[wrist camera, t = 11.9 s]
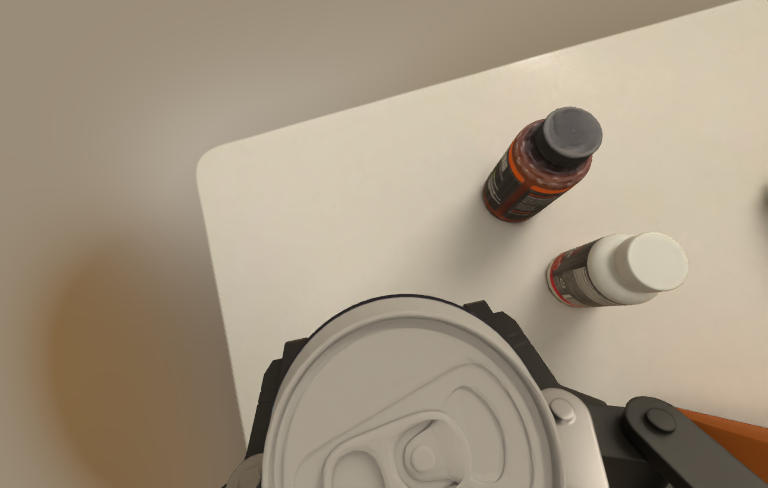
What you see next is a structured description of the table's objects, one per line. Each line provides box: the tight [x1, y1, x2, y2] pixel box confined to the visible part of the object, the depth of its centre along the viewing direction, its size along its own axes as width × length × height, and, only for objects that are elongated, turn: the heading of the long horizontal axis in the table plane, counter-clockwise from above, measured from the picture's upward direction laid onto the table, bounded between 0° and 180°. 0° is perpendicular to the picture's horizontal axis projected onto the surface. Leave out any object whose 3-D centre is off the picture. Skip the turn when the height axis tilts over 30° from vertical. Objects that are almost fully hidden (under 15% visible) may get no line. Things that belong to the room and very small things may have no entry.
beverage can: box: [261, 294, 567, 488], centre depth 11 cm, size 6×6×12 cm
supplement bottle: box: [483, 107, 603, 222], centre depth 27 cm, size 6×6×11 cm
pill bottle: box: [547, 232, 689, 307], centre depth 25 cm, size 5×5×10 cm
